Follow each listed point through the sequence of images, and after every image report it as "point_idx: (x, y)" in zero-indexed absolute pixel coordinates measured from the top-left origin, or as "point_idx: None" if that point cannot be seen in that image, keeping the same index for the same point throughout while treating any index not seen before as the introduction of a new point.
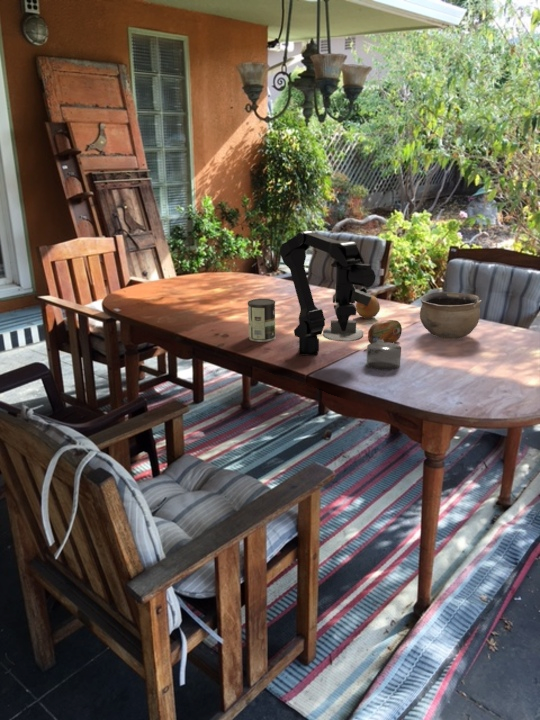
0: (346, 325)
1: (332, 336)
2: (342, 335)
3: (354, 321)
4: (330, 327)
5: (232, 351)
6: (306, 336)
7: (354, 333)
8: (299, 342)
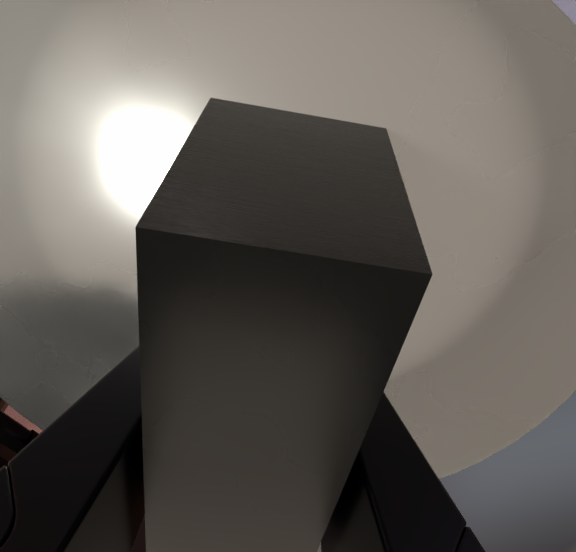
0: (412, 441)
1: (452, 469)
2: (457, 371)
3: (270, 291)
4: (26, 412)
5: None
6: (9, 432)
7: (412, 167)
8: (7, 406)
